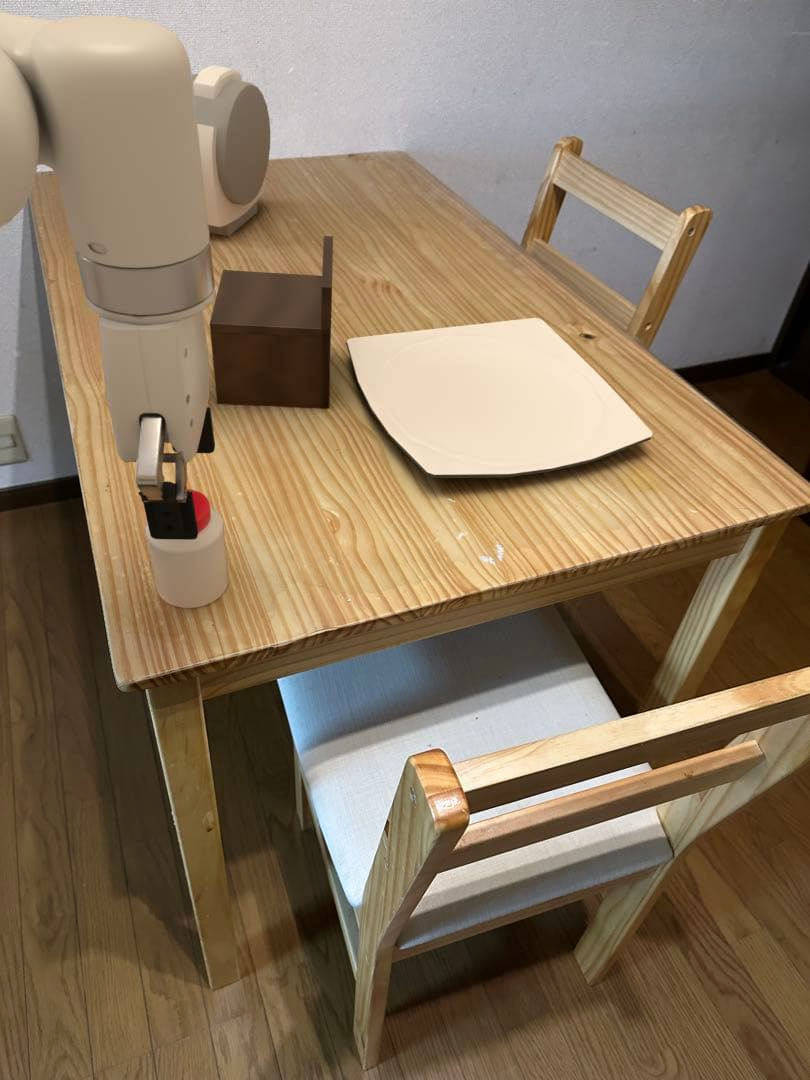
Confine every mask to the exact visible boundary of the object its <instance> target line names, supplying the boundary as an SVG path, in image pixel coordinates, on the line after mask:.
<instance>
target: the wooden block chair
mask: <svg viewBox="0 0 810 1080" xmlns="http://www.w3.org/2000/svg"><path fill="white" fill-rule="evenodd" d="M322 246H323V247H322V248H323V249H322V272H321V275H317V274H316V275H315V274H299V273H281V272H267V271H248V270H233V269H230V270H229V269H222V272H221V277H220V279H219V285H218V288H217V292H216V295H215V299H214V300H215V301H214V304H213V308H212V313H211V315H210V319H209V332H210V333H209V334H210V343H211V351H212V352H211V353H212V354H211V355H212V364H213V374H214V375H213V377H214V384H215V395H216V403H217V405H237V406H238V405H241V406H263V407H264V406H265V407H287V408H289V407H290V408H312V409H314V408H316V409H329V408H330V390H331V389H330V388H331V387H330V386H331V348H332V345H331V344H332V308H333V303H332V302H333V300H332V299H333V267H334V265H333V263H334V262H333V261H334V259H333V258H334V236H333V235H323V245H322Z"/></svg>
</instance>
